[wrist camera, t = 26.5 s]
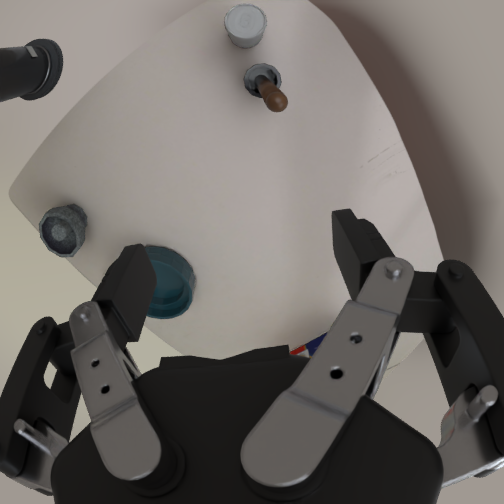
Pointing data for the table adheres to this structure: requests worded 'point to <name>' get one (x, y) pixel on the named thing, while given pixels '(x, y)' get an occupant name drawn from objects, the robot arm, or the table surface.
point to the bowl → (170, 284)
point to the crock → (261, 70)
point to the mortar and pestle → (63, 230)
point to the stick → (271, 94)
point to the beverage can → (245, 25)
